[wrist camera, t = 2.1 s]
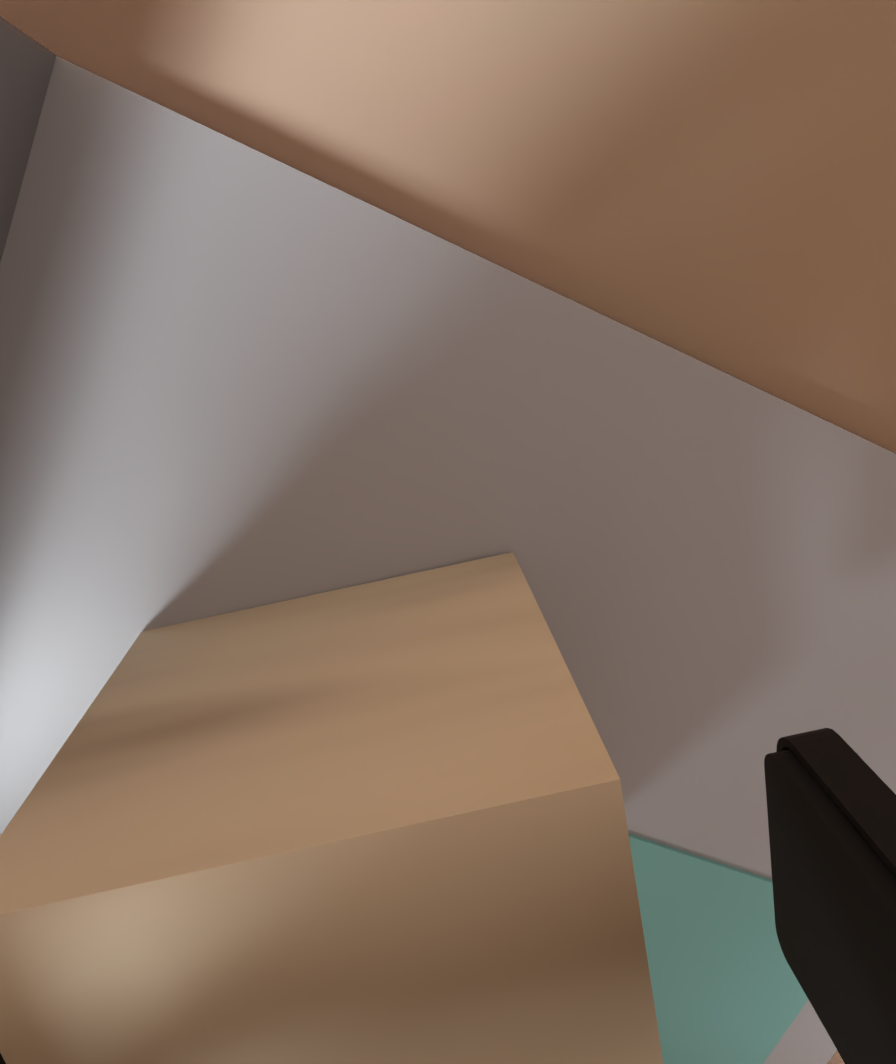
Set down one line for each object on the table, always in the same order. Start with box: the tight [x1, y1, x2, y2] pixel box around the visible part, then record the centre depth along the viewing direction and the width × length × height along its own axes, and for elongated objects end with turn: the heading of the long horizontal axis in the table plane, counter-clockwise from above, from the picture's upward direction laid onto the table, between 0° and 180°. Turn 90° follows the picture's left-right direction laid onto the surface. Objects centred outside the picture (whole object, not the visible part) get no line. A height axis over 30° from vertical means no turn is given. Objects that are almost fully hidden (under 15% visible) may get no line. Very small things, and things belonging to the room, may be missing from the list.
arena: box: [0, 17, 896, 1064], centre depth 12 cm, size 18×21×5 cm
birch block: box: [0, 552, 663, 1064], centre depth 11 cm, size 6×6×6 cm
